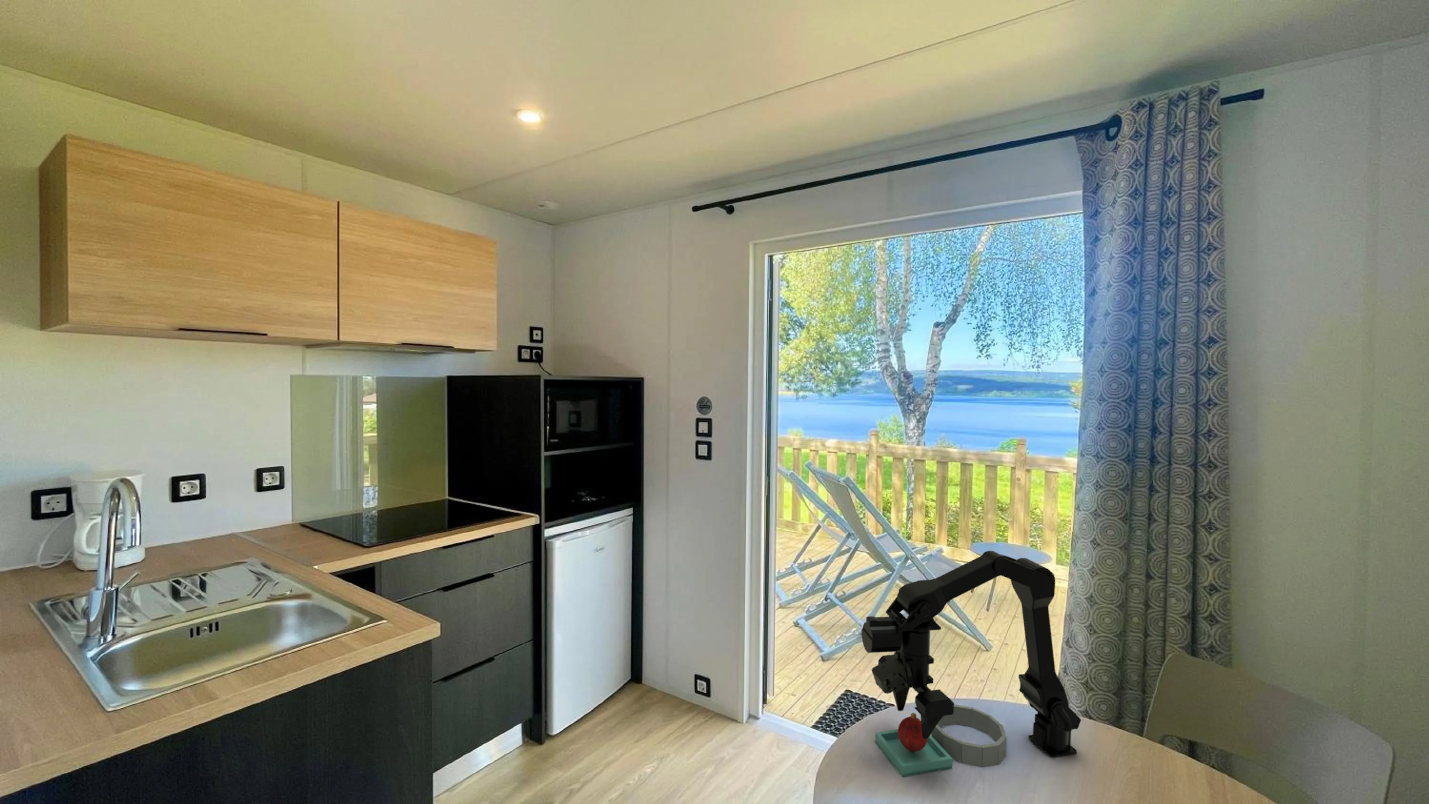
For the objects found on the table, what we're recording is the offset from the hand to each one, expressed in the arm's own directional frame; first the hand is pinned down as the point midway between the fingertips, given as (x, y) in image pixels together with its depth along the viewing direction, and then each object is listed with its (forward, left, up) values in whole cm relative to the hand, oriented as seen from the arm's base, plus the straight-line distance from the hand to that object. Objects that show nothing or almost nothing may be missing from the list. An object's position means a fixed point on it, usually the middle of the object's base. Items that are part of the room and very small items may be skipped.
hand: (912, 723), depth 115 cm
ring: (-14, -1, -7) cm, 15 cm away
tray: (0, 0, -7) cm, 7 cm away
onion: (0, 0, -6) cm, 6 cm away
